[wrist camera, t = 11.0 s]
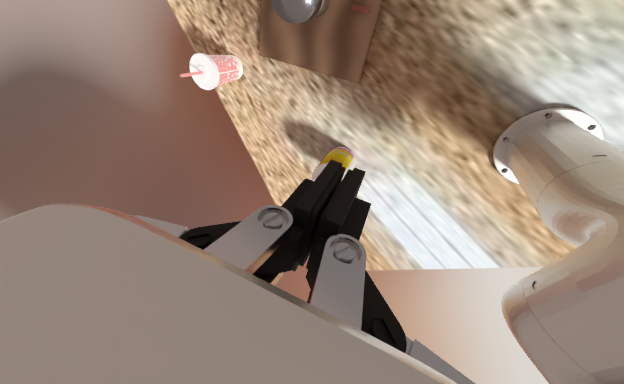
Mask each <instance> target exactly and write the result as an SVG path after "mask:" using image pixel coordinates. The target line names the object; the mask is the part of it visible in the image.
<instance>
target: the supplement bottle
mask: <svg viewBox="0 0 624 384" xmlns="http://www.w3.org/2000/svg"><path fill="white" fill-rule="evenodd" d="M331 159H332V160H335V161H337V162H340V163H342V167H345V168H346V169H345V172H344V175H343V178H344V176H345V175H346V173H347V171H348V170H349V169H350V170H353V169H354V168H355V167H356V158H355V155H354V154H353V152H352V151H350V150H349V149H347V148H345V147H336V148H334V149H332V150H331V151H330V152H329V153H328V154H327V155H326V157H325V158H324V159H323V160H322V161H321V163H320V164H319V165H318V166H317V167H316V169H315V170H314V172H313V175H312V180H313V181H315V180H316V178H317V177H318V176H319V174H320V173H321V172H322V171H323V169H324V168H325V167H326V165H327V164H328V163H329V162H330V160H331ZM342 180H343V179H342Z"/></svg>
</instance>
